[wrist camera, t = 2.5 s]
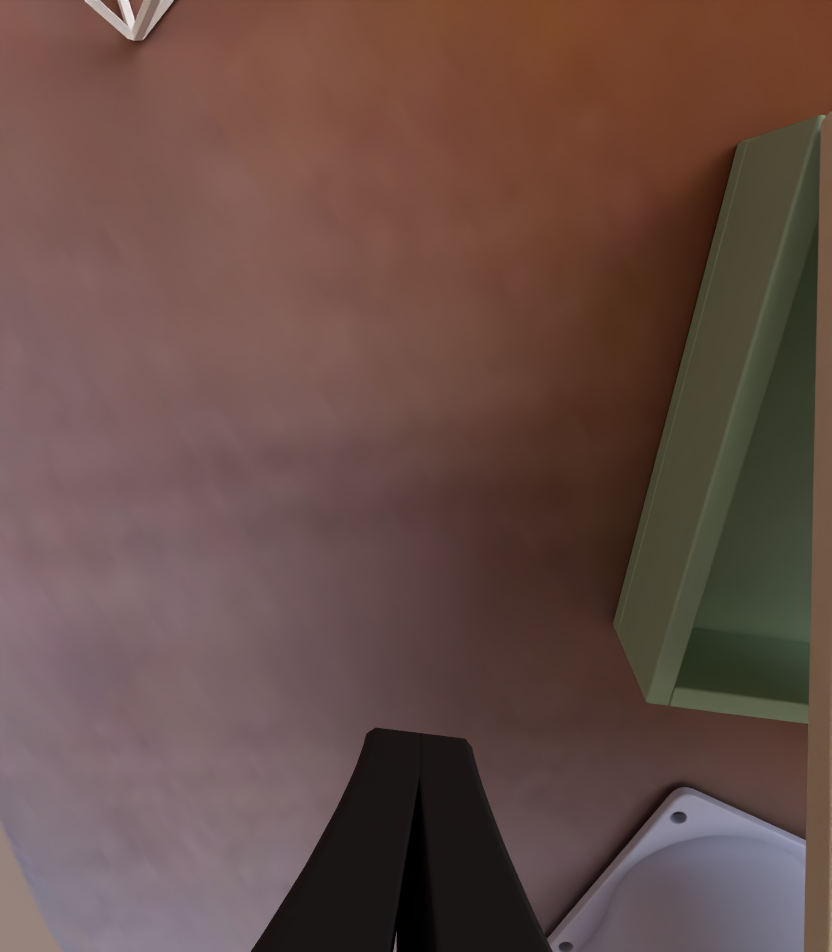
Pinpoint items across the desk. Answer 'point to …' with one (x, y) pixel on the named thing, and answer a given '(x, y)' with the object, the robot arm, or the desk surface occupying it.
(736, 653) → the lunchbox
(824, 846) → the lunchbox lid
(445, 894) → the robot arm
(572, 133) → the desk surface
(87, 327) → the desk surface
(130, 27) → the geometric polyhedron
